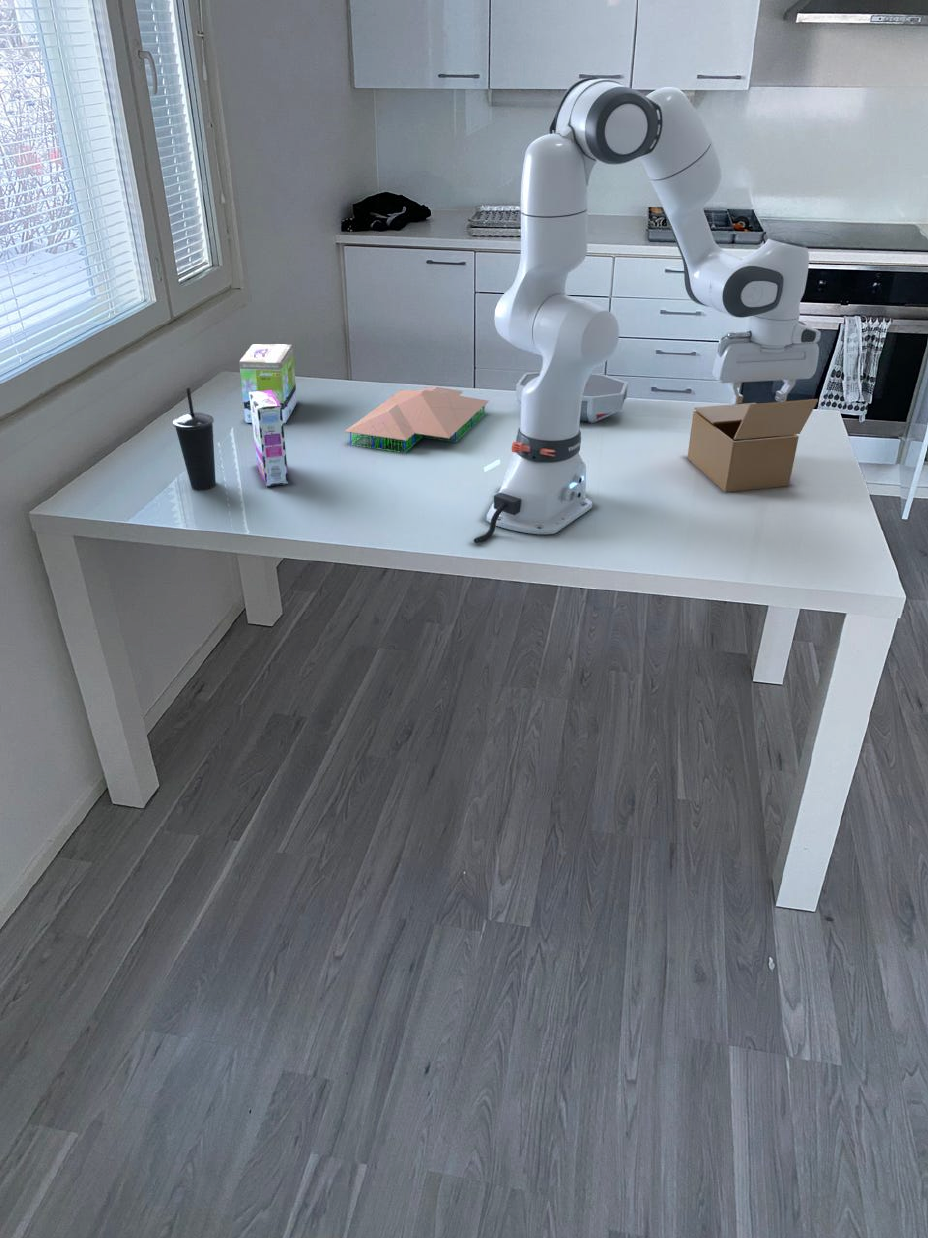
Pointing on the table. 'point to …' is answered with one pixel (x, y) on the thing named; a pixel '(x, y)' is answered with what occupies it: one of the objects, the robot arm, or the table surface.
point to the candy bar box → (269, 437)
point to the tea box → (269, 375)
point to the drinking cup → (197, 446)
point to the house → (419, 416)
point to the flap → (775, 419)
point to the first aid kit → (592, 395)
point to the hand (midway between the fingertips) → (758, 402)
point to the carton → (738, 451)
